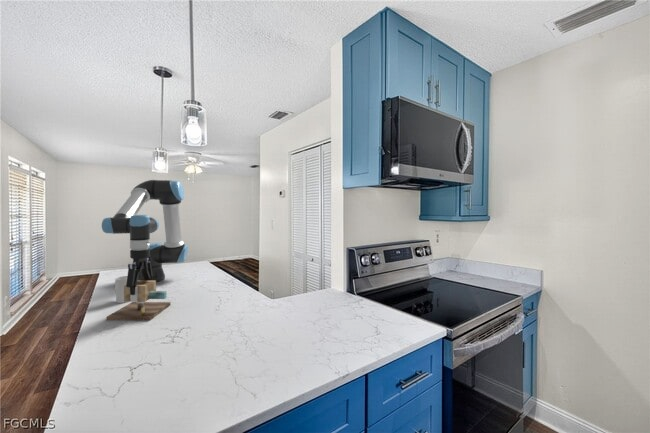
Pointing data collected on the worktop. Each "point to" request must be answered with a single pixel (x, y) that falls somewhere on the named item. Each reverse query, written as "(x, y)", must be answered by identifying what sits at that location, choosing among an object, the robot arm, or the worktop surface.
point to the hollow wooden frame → (145, 291)
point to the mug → (120, 288)
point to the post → (140, 305)
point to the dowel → (142, 311)
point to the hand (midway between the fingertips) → (140, 297)
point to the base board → (139, 311)
